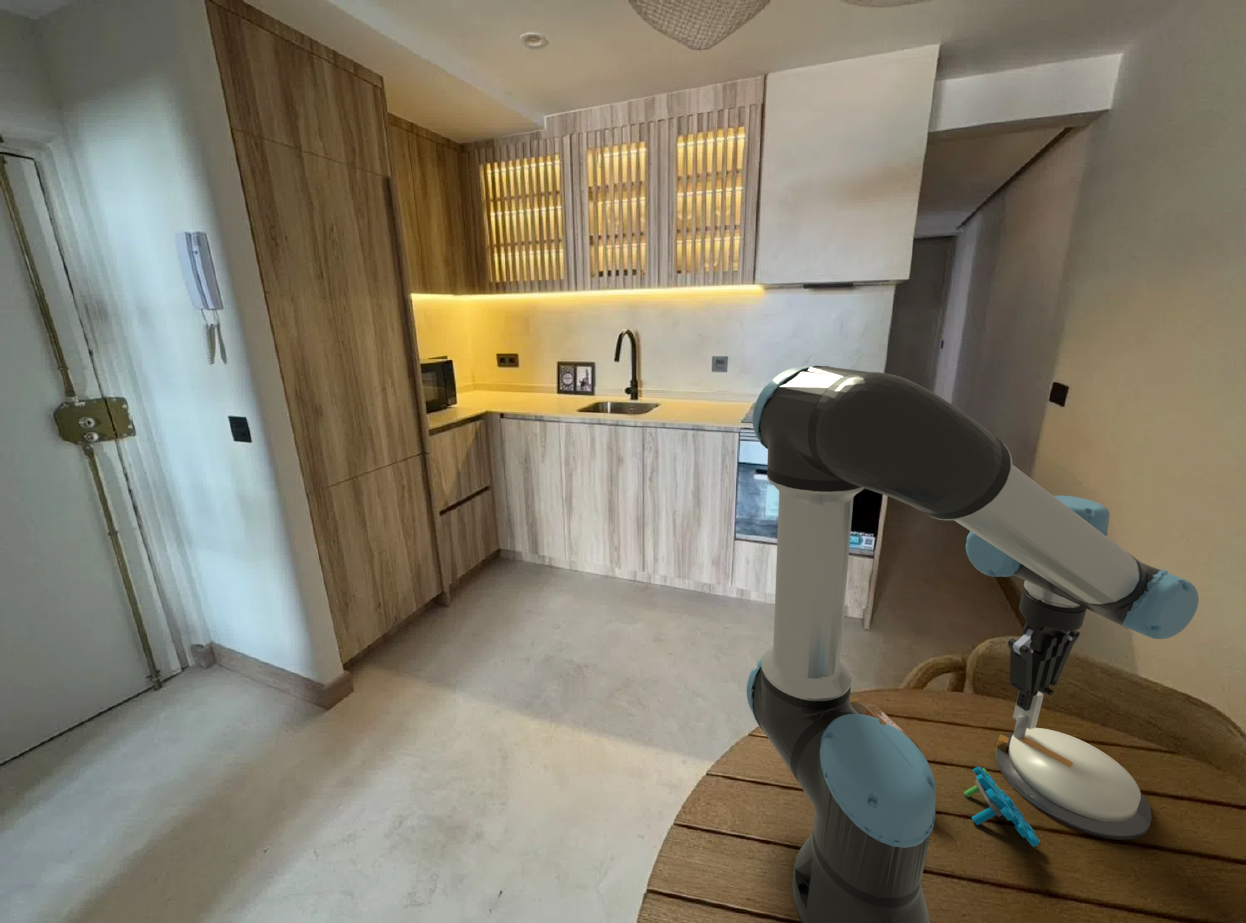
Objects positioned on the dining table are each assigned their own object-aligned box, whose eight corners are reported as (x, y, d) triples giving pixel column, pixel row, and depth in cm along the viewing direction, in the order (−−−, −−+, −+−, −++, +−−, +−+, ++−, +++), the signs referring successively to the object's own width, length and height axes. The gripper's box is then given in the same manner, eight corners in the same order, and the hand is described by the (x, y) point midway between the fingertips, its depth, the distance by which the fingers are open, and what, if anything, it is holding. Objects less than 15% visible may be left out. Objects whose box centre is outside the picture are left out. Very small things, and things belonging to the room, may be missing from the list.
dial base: (983, 781, 78) (986, 768, 77) (1007, 720, 90) (1010, 708, 89) (1148, 868, 65) (1153, 853, 64) (1151, 783, 77) (1155, 770, 76)
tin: (840, 731, 88) (845, 690, 86) (855, 727, 89) (861, 687, 86) (909, 807, 74) (916, 761, 72) (926, 801, 75) (934, 756, 72)
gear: (1059, 860, 64) (1002, 800, 65) (1018, 881, 66) (963, 821, 67) (1015, 795, 75) (967, 744, 76) (980, 814, 77) (934, 764, 77)
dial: (1149, 787, 75) (1160, 754, 73) (1120, 843, 67) (1131, 808, 65) (1029, 724, 87) (1035, 695, 85) (992, 765, 79) (998, 734, 77)
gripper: (1052, 617, 70) (1020, 751, 77) (1111, 600, 74) (1076, 728, 81) (999, 591, 77) (973, 716, 84) (1055, 577, 81) (1027, 697, 88)
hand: (1024, 722), depth 82 cm, fingers closed
